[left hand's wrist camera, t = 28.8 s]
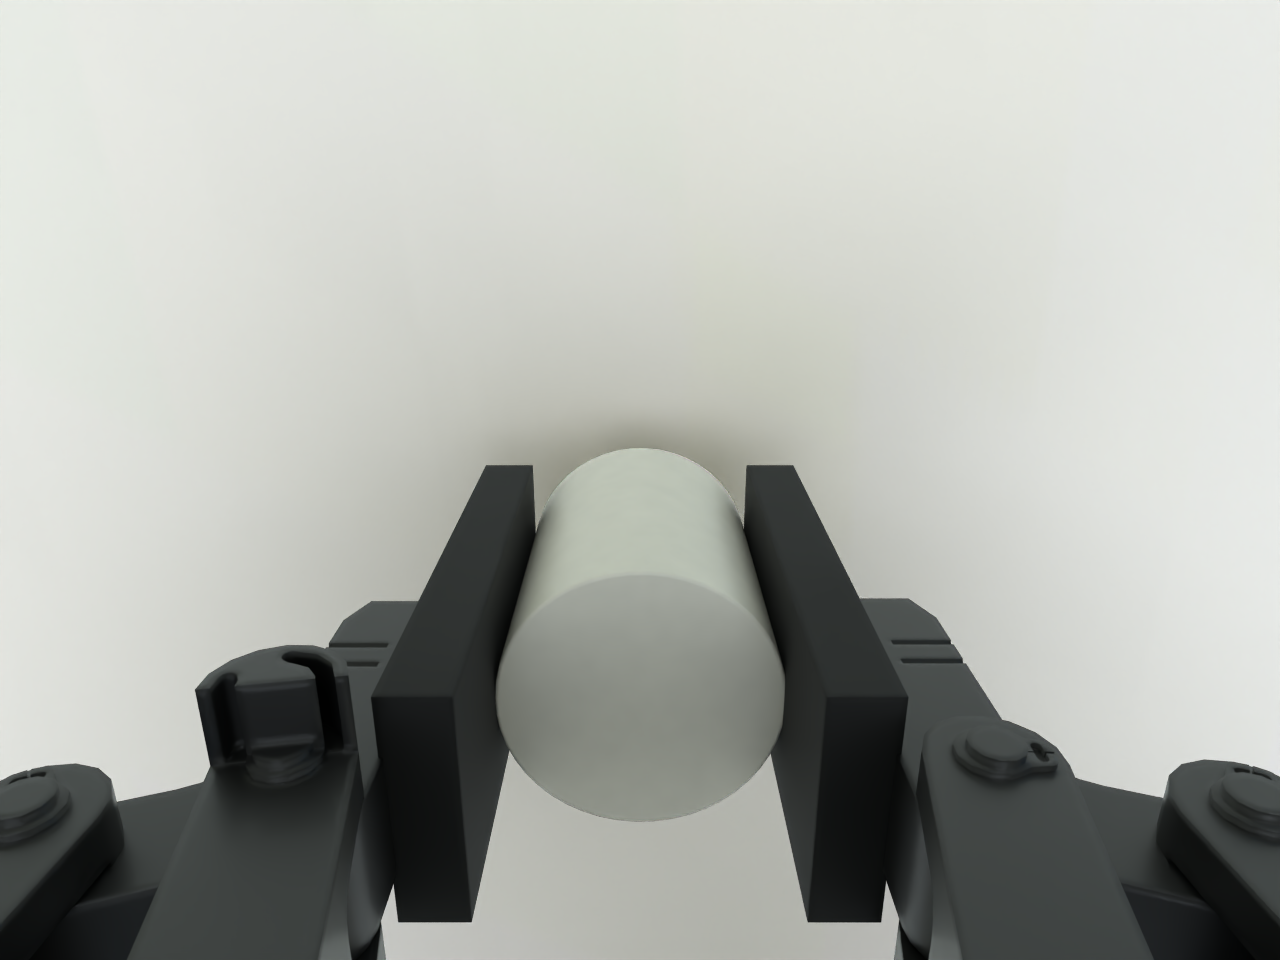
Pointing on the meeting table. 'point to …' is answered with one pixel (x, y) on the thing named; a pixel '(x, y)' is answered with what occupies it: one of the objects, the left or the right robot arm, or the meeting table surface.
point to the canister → (640, 644)
